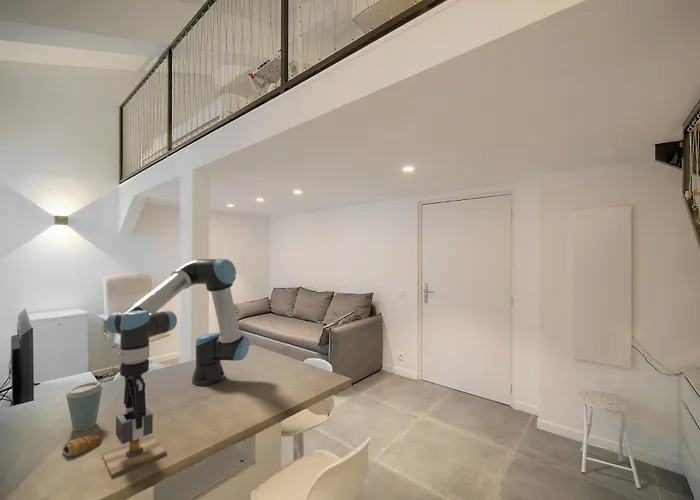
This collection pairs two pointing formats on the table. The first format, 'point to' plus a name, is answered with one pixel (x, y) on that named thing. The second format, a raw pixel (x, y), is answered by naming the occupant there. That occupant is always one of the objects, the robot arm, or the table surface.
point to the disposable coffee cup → (84, 405)
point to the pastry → (81, 445)
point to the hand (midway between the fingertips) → (134, 432)
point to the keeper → (133, 455)
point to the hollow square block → (131, 425)
